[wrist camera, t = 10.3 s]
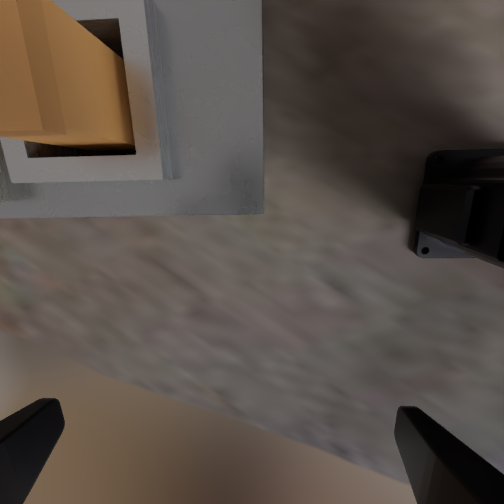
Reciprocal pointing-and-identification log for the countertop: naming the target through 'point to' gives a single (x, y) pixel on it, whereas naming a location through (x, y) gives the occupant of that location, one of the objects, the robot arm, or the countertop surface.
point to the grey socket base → (160, 118)
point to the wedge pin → (60, 81)
